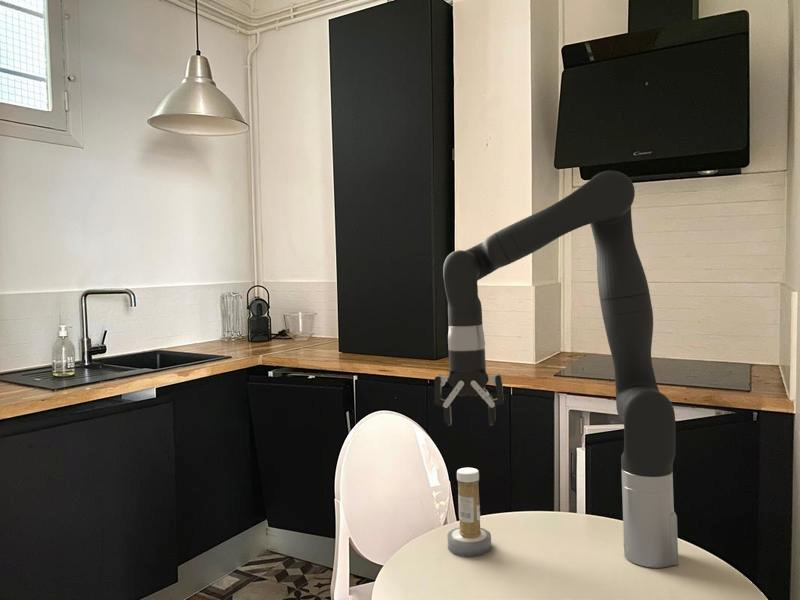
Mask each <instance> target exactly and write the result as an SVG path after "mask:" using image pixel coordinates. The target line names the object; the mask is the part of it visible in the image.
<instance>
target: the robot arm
mask: <svg viewBox="0 0 800 600" xmlns="http://www.w3.org/2000/svg"><path fill="white" fill-rule="evenodd" d="M635 193H636V192H635V185H634V183H633V181H632V179H630V177H628V175H626V174H625V173H623V172H620V171H617V170H616V171H615V170H605V171H602V172H598V173H597V174H595V175H593V177H591V179H589V180H588V181H587V182H585V183H584V184H582V185H581V186H580V187H579V188H577V189H576V190H574V191H573V192H571V193H570V194H568V195H567V196H565V197H563V198H562V199H560V200H559V201H556V202H555V203H554V204H552V205H550V206H548V207H546V208H544V209H542V210H540V211H537V212H535V213H534V214H531V215H528V217H527V216H526V217H525V218H522V219H520V220H519V221H516V222H514V223H512V224H510V225H508V226H506V227H504V228H502V229H500V230H497V231H496V232H494V233H492V234H491V235H489V236H487V237H486V238H485V239H484V241H482V242H480V243H477V244H475V245H474V246H471V247H469V248H468V249H465V250H462V249H461V250H460V249H459V250H455V251H452V252H451V253H449V254H448V255H447V256H446V258H445V260H444V262H443V267H442V270H443V271H442V274H443V275H442V277H443V282H444V283H443V284H444V289H445V290H444V291H445V294H446V300H447V317H448V319H447V320H448V321H447V322H448V332H447V333H448V334H447V344H448V346H447V347H448V368H449V370H448V371H449V373H448V375H447V376H446V375H445V376H444V375H441V374H437V375H436V376H435V377H434V389H433V390H434V399H433V401H434V402H433V403H434V404H435V405H436V406H440V407H442V408H443V421H444V423H445V424H446V425H447V426H452V423H453V419H452V417H453V416H452V405H451V403H453V401H454V400H455V398H456V396H459V397H460V398H461V397H463V398H465V397H467V396H469V397H477V396H478V395H479V396H480V397H481V399H482V400H484V401H485V403H486V404H487V405H488V407H487V413H488V414H487V417H488V426H490V427H491V426H493V424H494V423H495V422H496V419H497V418H496V417H497V414H496V407H497V406H499V405H503V404H504V402H505V395H504V387H503V379H502V378H503V377H502V374H501V373H496V374H493V375H492V374H491V375H488V373H487V367H486V363H487V362H486V341H485V332H484V329H483V328H484V326H483V309H482V302H481V300H480V297H479V290H478V289H479V287H478V281H479V280H481V279H483V278H485V277H487V276H488V275H490V274H491V273H493V272H495V271H497V270H498V269H500V268H503V267H506V266H509V265H511V264H513V263H515V262H517V261H519V260H521V259H524V258H526V257H527V256H529V255H532V254H533V253H535V252H537V251H538V250H540V249H542V248H543V247H545V246H547V245H549V244H551V243H552V242H553V241H555V240H557V239H559V238H560V237H563V236H564V235H567V234H569V233H570V232H573V231H574V230H578V229H579V228H582V227H585V226H587V225H590V228H591V232H592V236H593V240H594V244H595V250H596V272H597V275H596V276H597V285H598V295H599V302H600V309H601V314H602V320H603V323H604V328H605V333H606V337H607V343H608V346H609V350H610V351H609V352H610V354H611V357H612V363H613V371H614V383H615V386H614V387H615V404H616V405H615V406H616V412H617V416H618V417H619V420H621V422H622V423H623V435H624V437H623V441H624V442H623V445H624V446H623V452H622V454H621V457H620V458H621V459H620V460H621V461H620V462H621V463H620V464H621V465H620V466H621V495H622V496H621V497H622V523H623V529H622V530H623V551H624V552H623V554H624V557H625V559H626V560H628V561H629V562H630V563H633V564H635V565H639V566H642V567H647V568H656V569H657V568H658V569H659V568H660V569H661V568H668V567H671V566H679V547H678V546H679V545H678V542H679V541H678V516H677V514H676V512H675V507H674V504H675V503H674V477H673V476H674V473H673V472H674V471H673V469H674V467H673V464H674V460H675V457H676V442H677V441H676V438H677V437H676V433H677V431H676V429H677V428H676V414H675V413H676V411H675V409H674V405H673V403H672V402H671V400H670V399H669V398H668V397H667V396H666V395H665V394H664V393H662V392H660V390H659V389H660V388H659V386H658V384H657V380H656V379H657V378H656V376H655V370H654V367H653V363H652V361H653V360H652V343H653V336H654V335H653V333H654V312H653V306H652V299H651V293H650V288H649V284H648V280H647V276H646V273H645V269H644V267H643V264H642V260H641V258H640V256H639V253H638V250H637V247H636V244H635V238H634V230H633V220H632V205H633V203H634V200H635V197H636V196H635ZM489 381H490V382H491V385H492V386H495V389H496V398H493V396H492V395H491V394H490V393H489V391H488V390H487V389H486V385H487V384H488V382H489ZM446 383H448V384H449V385H450V387H451V388H452V391H451V392H450V393H449V395H448V396H447V398H446V399H444V398H443V397H442V394H443V393H442V392H443V391H442V388H443V387H444V386H445V385H446Z"/></svg>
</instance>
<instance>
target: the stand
mask: <svg viewBox="0 0 800 600" xmlns="http://www.w3.org/2000/svg"><path fill="white" fill-rule="evenodd" d="M480 530H481V534H480V535H479V536H478V537H475V538H465V537H463V536H461V535H460V533H459V532H460V526H459V527H455V528H453V529H451V530H450V531H448V533H447V535H446V536H447V549H448V551H449V552H450V553H451V554H454V555H456V556H461V557H467V558H470V557H471V558H473V557H479V556H480V557H481V556H484V555H486V554H488V553H489V552H491V550H492V534H491V532H490V531H488V530H487V529H484V528H482V527H480Z"/></svg>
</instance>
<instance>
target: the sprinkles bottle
mask: <svg viewBox="0 0 800 600" xmlns="http://www.w3.org/2000/svg"><path fill="white" fill-rule="evenodd" d="M479 471H480V470H478V469H477V468H473V467H462V468H459V469H457V471H456V480H457V485H458V486H457V490H458V492H457V493H458V494H457V495H458V496H457V497H458V498H457V500H458V503H457V504H458V519H459V527H460V532H459V533H460V535H461V536H463V537H465V538H475V537H478V536H479V535H480V534H481V530H480V528H481V510H480V509H481V505H480V492H479V491H480V490H479V488H480V487H479V481H480V472H479Z"/></svg>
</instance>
